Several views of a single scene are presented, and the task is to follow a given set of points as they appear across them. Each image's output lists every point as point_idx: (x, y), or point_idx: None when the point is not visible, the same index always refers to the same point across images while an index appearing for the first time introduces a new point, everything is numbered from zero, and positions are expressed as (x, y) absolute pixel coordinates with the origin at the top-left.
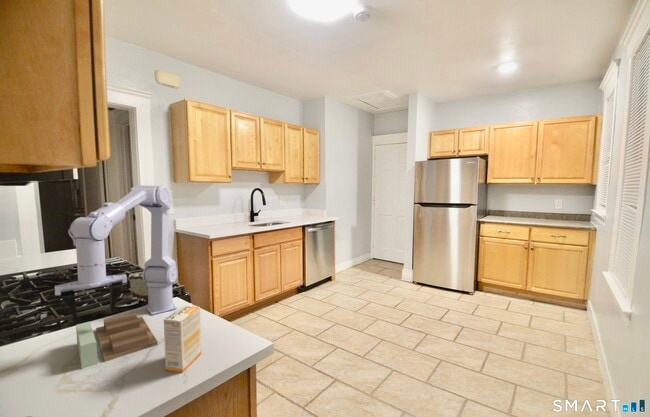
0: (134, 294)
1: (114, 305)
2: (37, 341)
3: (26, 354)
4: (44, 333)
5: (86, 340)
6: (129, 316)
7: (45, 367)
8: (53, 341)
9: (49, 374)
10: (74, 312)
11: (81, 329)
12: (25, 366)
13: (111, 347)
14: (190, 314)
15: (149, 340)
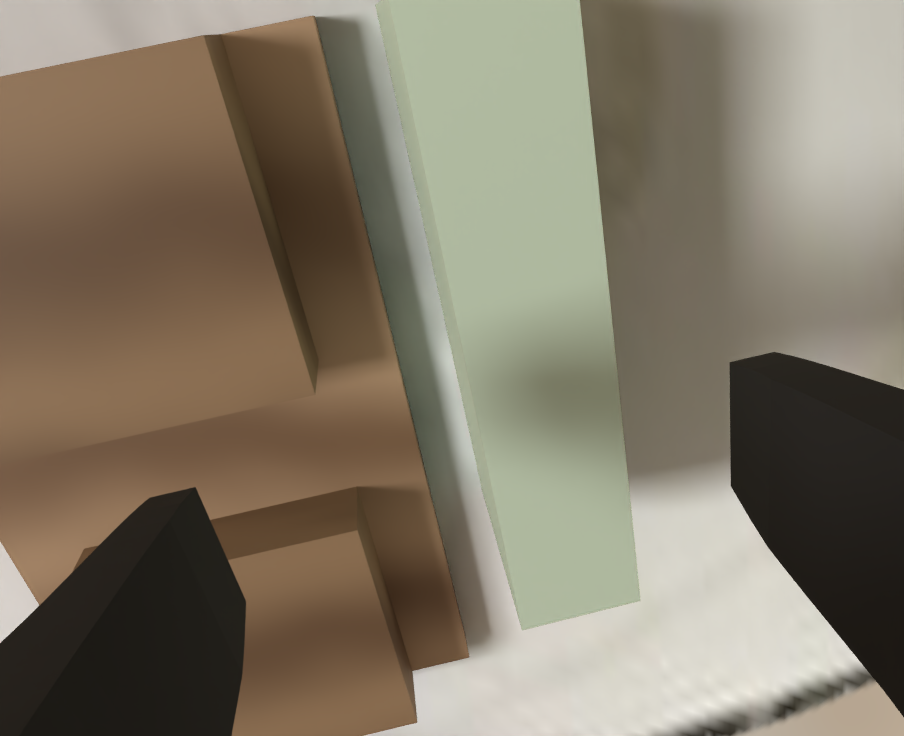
0: None
1: (75, 572)
2: (803, 621)
3: None
4: (767, 708)
5: (515, 113)
6: None
7: (766, 193)
8: (720, 586)
9: (742, 35)
10: (884, 409)
11: (588, 473)
12: (879, 287)
13: (276, 221)
14: None
15: None
